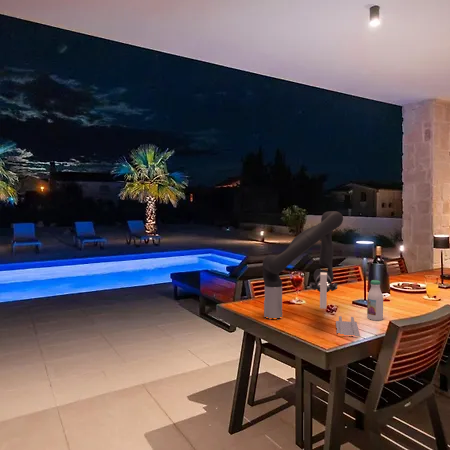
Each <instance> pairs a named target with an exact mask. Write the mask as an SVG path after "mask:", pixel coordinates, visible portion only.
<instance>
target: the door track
mask: <svg viewBox="0 0 450 450" xmlns="http://www.w3.org/2000/svg"><path fill="white" fill-rule="evenodd" d="M335 327H336V328H337V330H336V334H337V333H340V334H344V335H355V336H360V337H361V335H360V330H359V325H358V322H357V321H355V317H354V316H351V317H350V321H344V320H343V318H342V316H340V315H339V316H338V320H336V321H335Z"/></svg>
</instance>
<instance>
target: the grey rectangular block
mask: <svg viewBox="0 0 450 450" xmlns="http://www.w3.org/2000/svg"><path fill="white" fill-rule="evenodd" d="M327 293H328V292H327V273H324V272H320V292H319V309H324V310H325V309H326V310H327V304H328V303H327V298H328V297H327V295H328V294H327Z"/></svg>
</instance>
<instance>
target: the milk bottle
mask: <svg viewBox="0 0 450 450" xmlns="http://www.w3.org/2000/svg"><path fill="white" fill-rule="evenodd" d="M383 295H384V294H383V293H382V290H381V281H380V280H378V279H372V280H370V289H369V291H368V294H367V300H366V301H367V306H366V308H367V311H366V312H367V313H366V314H367V315H366V316H367V319H368V318H369V320H370V319H371V320H370V321H382V320H384V296H383Z"/></svg>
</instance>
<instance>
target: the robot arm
mask: <svg viewBox="0 0 450 450" xmlns="http://www.w3.org/2000/svg"><path fill="white" fill-rule="evenodd" d="M343 221H344V217H343V214H342V213H341V212H340V211H336V210H335V211H334V210H333V211H332V210H331V211H325V212H324V213H323V214H322V215H321V219H320V222H319V223H318V224H316V225H313V226H312V227H309V228H307V229H305V230H303V231H302V232H300V233H299V234H297V235H296V236H295V237H294V238H293V239H292V241H291V242H290V243H289V244H288V245H289V246H287V248H286V249H284V250H283V251H282V252H281V253H279V254H277V255H273V254H268V255H266V256H265V257H264V259H263V260H262V278H263V282H264V300H263V314H264V315H263V317H268V318H280V317H282V318H283V280H282V278H281V276H280V273H282V272H283V271H284V270H285V269H286V268H287V267H288V266H290V264H291V263H292V262H294V261H295V260H296V259H297V258H299V257H300V256H301V255H302V254H304V253H305V252H307V251H308V250H309V249H310V248H312V247H313V246H315V244H316V243H318V242H319V241H320V253H319V258H318V260H319V261H318V262H319V263H318V264H319V265H321V266H324V267H326V268H327V269H323V268H322V269H321V268H317V269H316V270H315V271H314V272H313V279H314V281H315V282H311V281H310V282H309V288H310V289H312V290H314V291H318V292H319V293H320V272H324V273H327V293H329V292H330V291H331V292H333V291H335V290H338V283H333V281H334V278H335V277H334V271H333V259H334V245H333V241H332V239H333V238H332V234H333V231H334V230H336V229H338V228H339V227H340V226H341V225H342V224H343Z"/></svg>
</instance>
